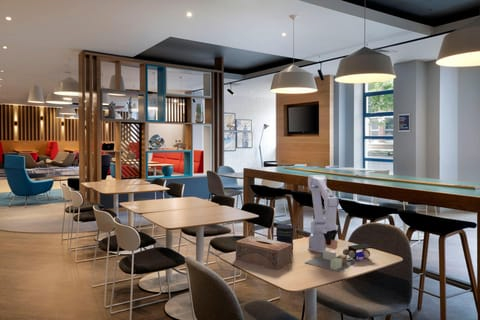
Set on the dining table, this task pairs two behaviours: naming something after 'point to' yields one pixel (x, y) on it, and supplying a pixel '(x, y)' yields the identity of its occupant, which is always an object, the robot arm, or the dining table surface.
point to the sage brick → (336, 263)
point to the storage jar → (285, 234)
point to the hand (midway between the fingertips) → (329, 244)
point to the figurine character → (353, 254)
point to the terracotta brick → (332, 245)
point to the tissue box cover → (264, 252)
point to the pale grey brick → (329, 254)
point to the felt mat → (327, 263)
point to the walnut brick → (343, 259)
